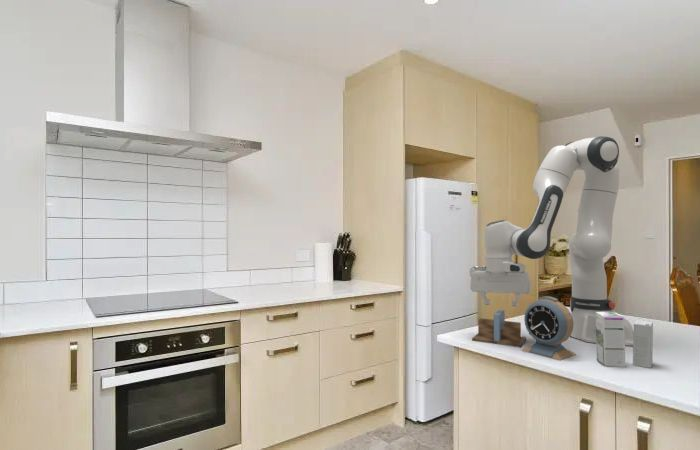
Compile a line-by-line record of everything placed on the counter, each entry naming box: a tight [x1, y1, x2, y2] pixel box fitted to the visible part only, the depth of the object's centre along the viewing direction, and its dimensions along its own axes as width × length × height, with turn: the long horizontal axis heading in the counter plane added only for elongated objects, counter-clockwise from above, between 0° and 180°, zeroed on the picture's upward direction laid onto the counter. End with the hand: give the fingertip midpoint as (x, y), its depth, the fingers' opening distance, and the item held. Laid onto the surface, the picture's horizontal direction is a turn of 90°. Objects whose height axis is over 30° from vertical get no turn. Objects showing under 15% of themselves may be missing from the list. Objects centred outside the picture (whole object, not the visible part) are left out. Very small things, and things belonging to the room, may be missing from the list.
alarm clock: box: [521, 295, 577, 361], centre depth 130 cm, size 14×10×18 cm
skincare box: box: [632, 319, 654, 369], centre depth 118 cm, size 6×4×12 cm
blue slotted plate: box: [493, 309, 506, 341], centre depth 145 cm, size 10×2×9 cm, turn 150°
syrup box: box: [595, 311, 627, 368], centre depth 119 cm, size 6×6×14 cm
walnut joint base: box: [471, 317, 527, 348], centre depth 145 cm, size 16×11×7 cm
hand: (500, 305), depth 145 cm, fingers open, 8 cm apart
